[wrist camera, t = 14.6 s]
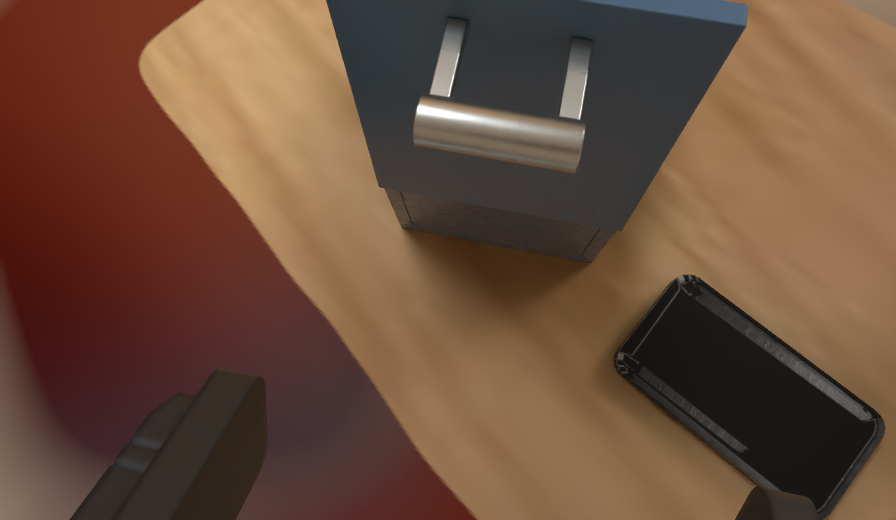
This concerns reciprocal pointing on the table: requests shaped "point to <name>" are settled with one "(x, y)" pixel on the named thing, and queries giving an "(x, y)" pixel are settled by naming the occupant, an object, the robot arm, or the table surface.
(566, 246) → the freezer
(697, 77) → the freezer lid
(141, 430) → the robot arm
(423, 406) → the table surface
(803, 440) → the phone
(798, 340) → the table surface
